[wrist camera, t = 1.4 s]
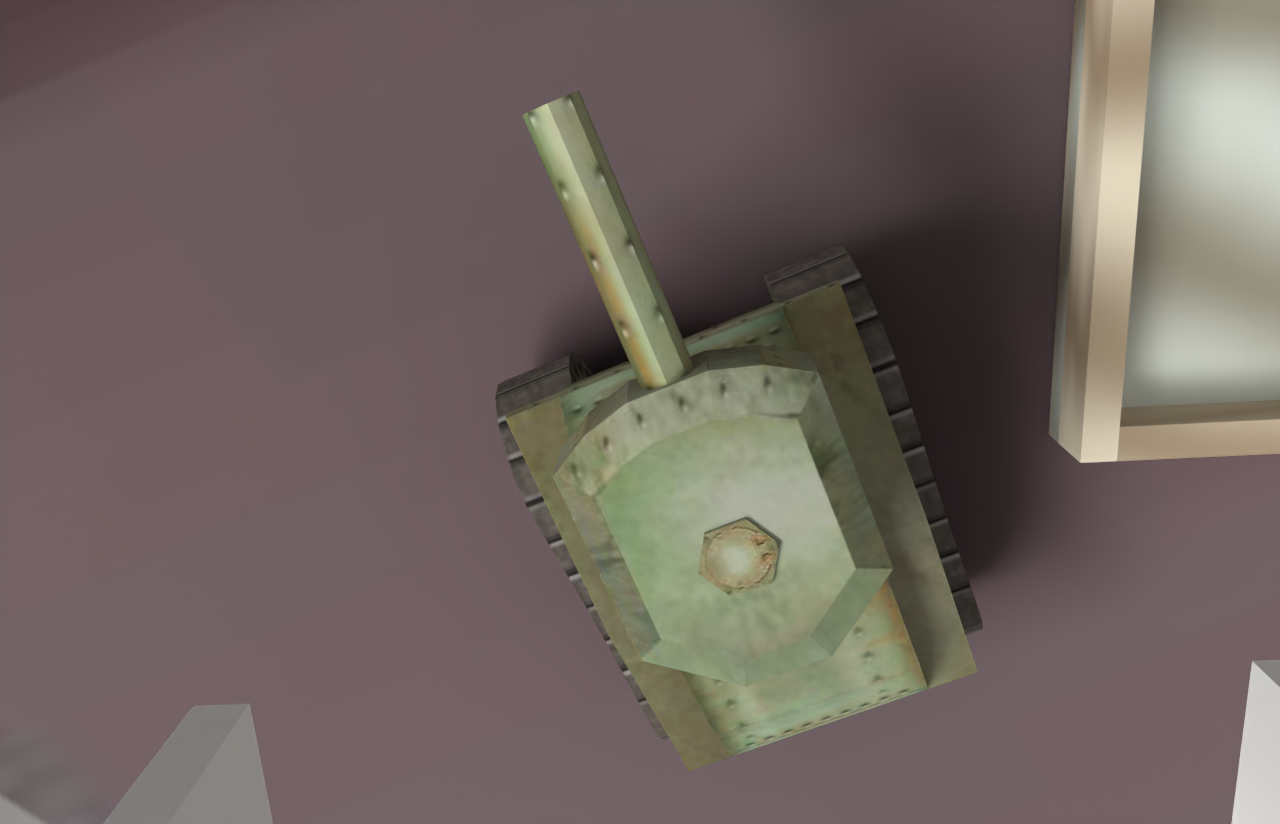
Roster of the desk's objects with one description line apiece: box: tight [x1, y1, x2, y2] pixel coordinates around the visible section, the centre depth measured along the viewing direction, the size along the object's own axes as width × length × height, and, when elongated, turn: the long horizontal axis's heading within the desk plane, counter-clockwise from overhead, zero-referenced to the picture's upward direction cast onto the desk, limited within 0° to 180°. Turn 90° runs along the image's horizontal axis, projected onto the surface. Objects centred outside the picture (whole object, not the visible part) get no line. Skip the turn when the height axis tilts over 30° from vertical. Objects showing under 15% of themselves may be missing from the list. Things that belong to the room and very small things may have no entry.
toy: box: [495, 91, 983, 771], centre depth 27 cm, size 10×18×10 cm, turn 23°
